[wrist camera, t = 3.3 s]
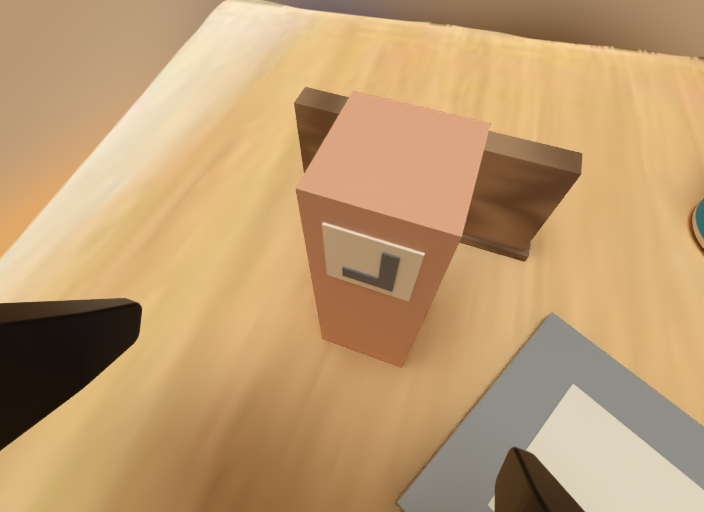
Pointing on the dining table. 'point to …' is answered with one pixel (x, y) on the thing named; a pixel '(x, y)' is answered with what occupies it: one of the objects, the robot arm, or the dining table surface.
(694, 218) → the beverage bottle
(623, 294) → the dining table surface
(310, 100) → the screen
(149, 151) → the dining table surface
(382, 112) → the lettered block
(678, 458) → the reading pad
